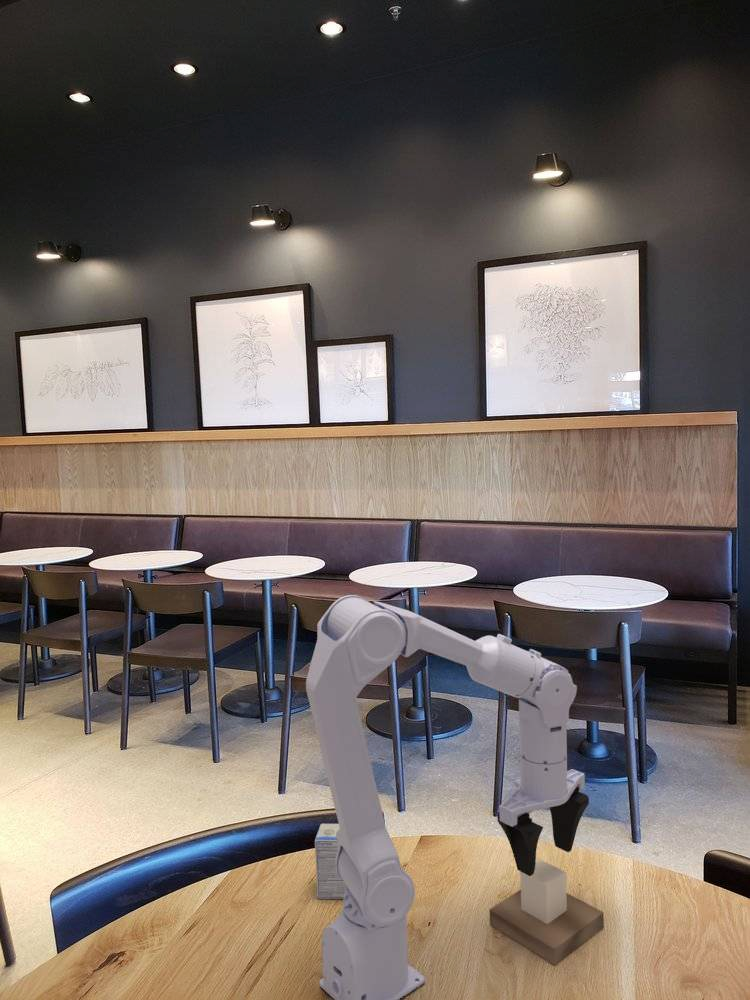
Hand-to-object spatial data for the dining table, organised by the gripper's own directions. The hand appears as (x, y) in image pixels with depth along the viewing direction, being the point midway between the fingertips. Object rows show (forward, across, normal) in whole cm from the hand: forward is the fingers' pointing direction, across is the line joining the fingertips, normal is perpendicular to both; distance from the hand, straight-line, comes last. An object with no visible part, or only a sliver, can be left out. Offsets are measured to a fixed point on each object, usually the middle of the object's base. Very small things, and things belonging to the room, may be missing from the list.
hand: (544, 859), depth 92 cm
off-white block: (+7, 0, 0) cm, 7 cm away
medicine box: (+9, +14, -23) cm, 28 cm away
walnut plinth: (+9, 0, 0) cm, 9 cm away
